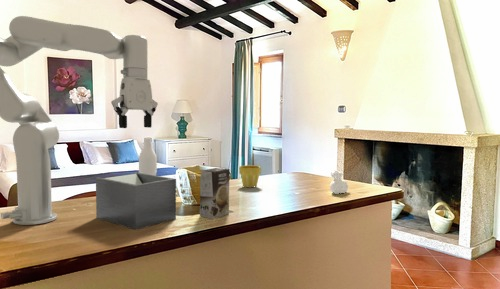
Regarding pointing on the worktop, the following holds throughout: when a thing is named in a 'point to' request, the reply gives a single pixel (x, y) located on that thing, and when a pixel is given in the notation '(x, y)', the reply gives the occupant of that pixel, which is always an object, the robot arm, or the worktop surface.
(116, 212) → the bin
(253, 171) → the plant pot
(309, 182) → the worktop surface
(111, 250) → the worktop surface
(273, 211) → the worktop surface
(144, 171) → the water bottle
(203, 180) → the coffee box
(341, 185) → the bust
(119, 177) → the trapdoor
